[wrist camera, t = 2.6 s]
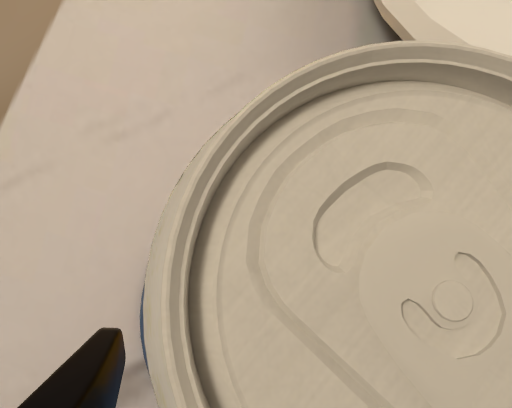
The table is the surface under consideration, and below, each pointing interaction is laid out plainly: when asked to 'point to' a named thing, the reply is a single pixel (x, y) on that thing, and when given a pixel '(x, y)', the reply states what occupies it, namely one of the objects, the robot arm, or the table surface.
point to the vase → (452, 21)
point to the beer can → (344, 241)
